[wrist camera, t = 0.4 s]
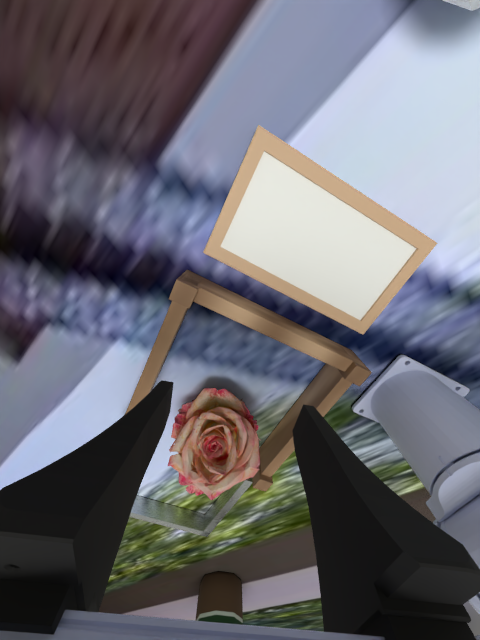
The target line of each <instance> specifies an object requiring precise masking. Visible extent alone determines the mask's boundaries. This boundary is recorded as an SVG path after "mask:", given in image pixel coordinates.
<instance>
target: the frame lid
mask: <svg viewBox="0 0 480 640" xmlns="http://www.w3.org/2000/svg"><path fill="white" fill-rule="evenodd" d="M436 244H437V243H436V242H435V241H433V240H432V239H430V238H429V237H427V236H426V235H424V234H423V233H421V232H420V231H418V230H417V229H415V228H414V227H412V226H411V225H409V224H408V223H406V222H405V221H403V220H402V219H400V218H399V217H397V216H396V215H394V214H393V213H391V212H390V211H388V210H387V209H385V208H383V207H382V206H380V205H379V204H377V203H376V202H374V201H373V200H371V199H370V198H368V197H367V196H365V195H364V194H362V193H361V192H359V191H358V190H356V189H355V188H353V187H352V186H350V185H349V184H347V183H346V182H344V181H343V180H341V179H340V178H338V177H337V176H335V175H334V174H332V173H330V172H329V171H327V170H326V169H324V168H323V167H321V166H320V165H318V164H317V163H315V162H314V161H312V160H311V159H309V158H308V157H306V156H305V155H303V154H302V153H300V152H299V151H297V150H296V149H294V148H293V147H291V146H290V145H288V144H287V143H285V142H284V141H282V140H281V139H279V138H277V137H276V136H274V135H273V134H271V133H270V132H268V131H267V130H265V129H264V128H262V127H261V126H259V125H258V127H257V130H256V132H255V134H254V137H253V139H252V141H251V144H250V146H249V148H248V151H247V153H246V155H245V157H244V160H243V162H242V164H241V167H240V169H239V171H238V174H237V176H236V178H235V181H234V183H233V185H232V188H231V190H230V192H229V194H228V197H227V199H226V201H225V204H224V206H223V208H222V211H221V213H220V215H219V218H218V220H217V222H216V224H215V227H214V229H213V231H212V234H211V236H210V238H209V241H208V243H207V245H206V248H205V250H204V252H203V253H205V254H207V255H209V256H211V257H213V258H215V259H217V260H218V261H220V262H222V263H224V264H226V265H228V266H230V267H232V268H234V269H236V270H238V271H240V272H242V273H244V274H246V275H248V276H250V277H252V278H254V279H255V280H257V281H259V282H261V283H263V284H265V285H267V286H269V287H271V288H273V289H275V290H277V291H279V292H281V293H283V294H285V295H287V296H289V297H291V298H293V299H294V300H296V301H298V302H300V303H302V304H304V305H306V306H308V307H310V308H312V309H314V310H316V311H318V312H320V313H322V314H324V315H326V316H328V317H330V318H331V319H333V320H335V321H337V322H339V323H341V324H343V325H345V326H347V327H349V328H351V329H353V330H355V331H357V332H359V333H361V334H364V333H365V332H366V331H367V329H368V328H369V327H370V326H371V324H372V323H373V322H374V321H375V319H376V318H377V317H378V316H379V314H380V313H381V312H382V311H383V310H384V308H385V307H386V306H387V305H388V303H389V302H390V301H391V300H392V298H393V297H394V296H395V295H396V294H397V292H398V291H399V290H400V289H401V287H402V286H403V285H404V284H405V282H406V281H407V280H408V279H409V278H410V276H411V275H412V274H413V273H414V271H415V270H416V269H417V268H418V266H419V265H420V264H421V263H422V262H423V260H424V259H425V258H426V257H427V255H428V254H429V253H430V252H431V250H432V249H433V248H434V247H435V245H436Z"/></svg>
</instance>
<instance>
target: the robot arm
mask: <svg viewBox="0 0 480 640" xmlns="http://www.w3.org/2000/svg"><path fill="white" fill-rule="evenodd" d="M406 361H407V362H406ZM405 362H406V363H405ZM172 390H173V382H168V381H160V382H159V383H158V384H157V385H156V386H155V387H154V388H153V389H152V391H151V392H150V393H149V394H148V395H146V396H145V397H144V398H143V399H142V400H141V401H140V402H139V403H138V404H137V405H136V406H135V407H134V408H132V409H131V410H130V411H129V412H128V413H126V414H125V415H124V416H123V417H122V418H120V419H119V420H118V421H117V422H115V423H114V424H113V425H112V426H110V427H109V428H108V429H106V430H105V431H103V432H102V433H101V434H99V435H98V436H96V437H95V438H93V439H92V440H90V441H89V442H87V443H86V444H84V445H83V446H81V447H79V448H78V449H76V450H74V451H73V452H71V453H69V454H68V455H66V456H64V457H62V458H61V459H59V460H57V461H55V462H54V463H52V464H50V465H48V466H46V467H44V468H43V469H41V470H39V471H37V472H35V473H33V474H31V475H29V476H27V477H25V478H23V479H21V480H18V481H16V482H14V483H12V484H10V485H8V486H6V487H4V488H2V489H1V490H0V640H480V635H477V636H474V635H473V633H472V631H471V630H470V628H469V626H468V624H467V623H469V622H470V621H471V619H470V616H469V614H468V613H467V611H466V609H465V607H464V606H463V604H464V603H465V602H467V601H468V602H469V603H470V604H471V605H472V606H473V608H474V609H475V610H476V611H477V612H478V613H479V615H480V410H479V409H478V408H477V407H475V406H474V405H473V404H471V403H470V402H469V401H468V400H466V399H465V398H464V396H466V395H467V394H468V393H469V389H468V388H467V387H466V386H464V385H462V384H460V383H458V382H456V381H454V380H452V379H450V378H448V377H446V376H444V375H442V374H440V373H438V372H436V371H435V370H433V369H431V368H429V367H427V366H425V365H423V364H421V363H419V362H417V361H415V360H413V359H411V358H409V357H407V356H405V355H400V356H398V357H397V358H396V359H395V360H394V361H393V362H392V364H391V365H390V366H389V367H388V368H387V369H386V370H385V371H384V372H383V373H382V374H381V375H380V377H379V378H378V379H377V380H376V381H375V382H374V383H373V384H372V385H371V386H370V387H369V389H368V390H367V391H366V392H365V393H364V394H363V395H362V396H361V397H360V398H359V399H358V401H357V402H356V403H355V404H354V405H353V406H352V410H353V411H354V412H355V413H357V414H359V415H362V416H364V417H366V418H369V419H371V420H373V421H376V422H378V423H380V424H381V426H382V427H383V428H384V430H385V431H386V433H387V434H388V436H389V437H390V438H391V440H392V441H393V443H394V444H395V445H396V447H397V448H398V450H399V451H400V453H401V454H402V455H403V457H404V458H405V460H406V461H407V462H408V464H409V465H410V467H411V468H412V469H413V471H414V472H415V474H416V475H417V477H418V478H419V479H420V481H421V482H422V484H423V485H424V486H425V488H426V489H427V491H428V492H429V494H430V495H431V498H430V499H429V500H428V501H427V502H426V504H427V506H428V507H429V509H430V510H431V512H432V513H433V515H434V516H435V518H436V520H434V522H433V523H432V522H431V521H429V520H428V519H427V518H425V517H424V516H423V515H421V514H420V513H419V512H418V511H416V510H415V509H414V508H412V507H411V506H410V505H409V504H408V503H406V502H405V501H404V500H403V499H401V498H400V497H399V496H398V495H397V494H396V493H394V492H393V491H392V490H391V489H390V488H389V487H388V486H386V485H385V484H384V483H383V482H382V481H381V480H380V479H379V478H378V477H377V476H376V475H375V474H374V473H373V472H371V471H370V470H369V469H368V468H367V467H366V466H365V465H364V464H363V463H362V462H361V461H360V460H359V458H358V457H357V456H356V455H355V454H354V453H353V452H352V451H351V450H350V449H349V448H348V446H347V445H346V444H345V443H344V442H343V441H342V440H341V438H340V437H339V436H338V435H337V434H336V432H335V431H334V430H333V429H332V428H331V426H330V425H329V424H328V423H327V421H326V420H325V419H324V418H323V417H322V415H321V414H320V413H319V412H318V410H317V409H316V408H315V407H314V406H310V405H304V404H303V406H302V409H301V411H300V413H299V416H298V418H297V421H296V423H295V426H294V428H293V430H292V432H293V441H294V448H295V453H296V457H297V461H298V465H299V469H300V473H301V477H302V481H303V485H304V489H305V493H306V497H307V501H308V506H309V512H310V518H311V524H312V530H313V537H314V544H315V551H316V558H317V567H318V575H319V583H320V593H321V603H322V613H323V624H324V632H321V631H309V630H298V629H286V628H274V627H263V626H251V625H239V624H228V623H216V622H204V621H193V620H181V619H169V618H157V617H146V616H134V615H122V614H111V613H99V608H100V605H101V602H102V599H103V596H104V592H105V589H106V586H107V583H108V580H109V577H110V574H111V570H112V567H113V564H114V561H115V558H116V555H117V552H118V549H119V546H120V543H121V540H122V537H123V534H124V531H125V528H126V525H127V522H128V519H129V516H130V513H131V510H132V507H133V504H134V501H135V499H136V496H137V493H138V490H139V487H140V484H141V482H142V479H143V477H144V474H145V472H146V470H147V467H148V465H149V463H150V461H151V458H152V456H153V454H154V452H155V449H156V447H157V445H158V443H159V440H160V438H161V436H162V434H163V431H164V428H165V425H166V422H167V419H168V416H169V413H170V407H171V398H172Z"/></svg>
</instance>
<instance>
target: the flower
mask: <svg viewBox="0 0 480 640" xmlns="http://www.w3.org/2000/svg"><path fill="white" fill-rule="evenodd" d="M178 411H179V414H178V415H177V416H176V417H175V423H174V424H173V430H172V436H171V437H172V438H175V439H176V440H175V441H174V443H175V445H172V446H171V448H170V452H172V451H177V452H179V454H176V455H172V456H170V459H169V463H168V466H172V467H173V468H174V469H175V470H177V471H178V472H179V483H180V484H181V485H189V486H188V487H187V488H186V491H187V492H188V493H189V494H190V493H195V491H196V494H195V495H197V496H198V495H200V494H203V493H205V494H206V495H207V496H208V497H209V498H210V499H211V500H213V499H214V498H216V497H217V496H219V495H220V494H221V493H223V492H224V491H226V490H229V489H230V488H231V487H232V486H234V485H236V484H237V483H239V482H242V481H244V480H246V479H249V478H251V477H254V475H255V474H256V473H257V472H258V470H259V465H260V453H259V441H260V440H261V439H258V435H257V433H256V431H257V430H258V425H256V424H257V420H253V416H251V415H250V412H249V410H248V409H247V407H246V406H245V403H244V402H242V399H241V400H239V399H238V398H237V397H236V396H235V395H233V394H232V393H231V392H229V391H228V390H227V389H221V390H218V391H217V389H216V388H204V389H203V390H202V391H201V393H200V394H199V395H198V396H197V398H196V399H195V400H192V402H189V403H186V404H183V405H182V408H181V409H179V410H178ZM174 443H173V444H174Z"/></svg>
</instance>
